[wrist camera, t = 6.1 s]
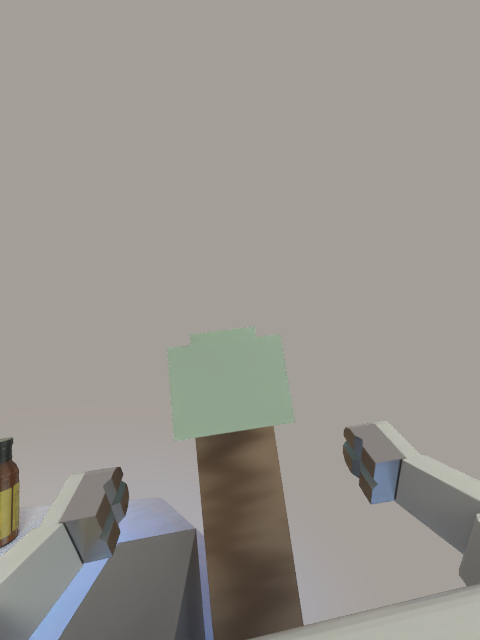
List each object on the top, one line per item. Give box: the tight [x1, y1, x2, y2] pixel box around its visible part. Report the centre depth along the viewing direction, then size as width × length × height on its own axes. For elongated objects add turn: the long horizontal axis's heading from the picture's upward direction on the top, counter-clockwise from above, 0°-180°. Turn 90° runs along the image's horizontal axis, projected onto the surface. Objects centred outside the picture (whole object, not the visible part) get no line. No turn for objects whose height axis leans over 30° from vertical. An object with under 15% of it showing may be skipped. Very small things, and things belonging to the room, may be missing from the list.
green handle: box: [167, 327, 295, 441], centre depth 16 cm, size 5×16×5 cm, turn 3°
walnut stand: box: [195, 426, 304, 640], centre depth 17 cm, size 5×8×26 cm, turn 3°
